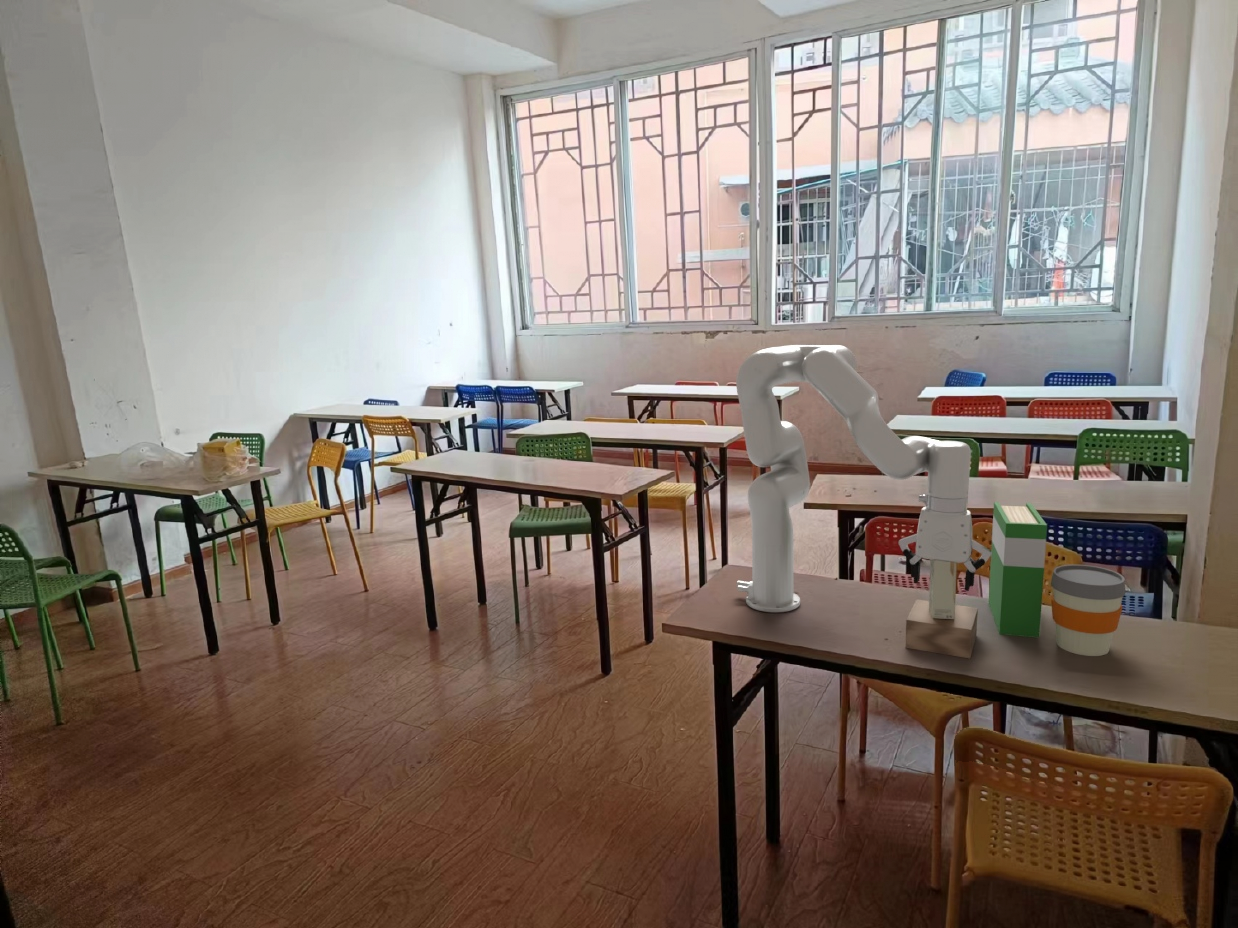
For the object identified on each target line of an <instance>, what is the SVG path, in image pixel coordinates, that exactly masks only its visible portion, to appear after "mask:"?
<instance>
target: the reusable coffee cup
mask: <svg viewBox="0 0 1238 928" xmlns="http://www.w3.org/2000/svg"><path fill="white" fill-rule="evenodd" d="M1050 587H1052V595H1051V597H1050V601H1051V614H1052V617H1051V618H1052V620H1053V622H1054V624H1055V636H1056V637H1055V638H1056V644H1057V646H1058V647H1059V648H1061V649H1063V650H1064V651H1067V652H1069V653H1073V654H1076V655H1080V656H1085V657H1099V656H1103V655H1107V654H1108V653H1109V651H1110V649H1111V644H1112V640H1113V637H1114V636H1113V635H1114V632H1115V631H1117V629H1118V626H1119V624H1120V619H1121V614H1122V610H1123V605H1122V601H1123V598H1124V596H1125V595H1126V579H1125V577H1124V576H1123V575H1122V574H1121V573H1119V572H1118V571H1114V570H1111V569H1108V568H1104V567H1101V566H1100V567H1099V566H1095V565H1088V564H1064V565H1063V564H1062V565H1059V566H1056V567H1055V568H1053V571H1052V575H1051V580H1050Z"/></svg>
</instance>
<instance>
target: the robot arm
mask: <svg viewBox="0 0 1238 928" xmlns="http://www.w3.org/2000/svg"><path fill="white" fill-rule="evenodd" d="M857 367H858V361H857V357H856V356H855V354H854V352H852V351H851V349H850V348H848V347H846V346H844V345H840V344H832V345H830V344H829V345H828V344H827V345H825V344H823V345H819V344H818V345H817V344H816V345H814V344H812V345H811V344H810V345H808V344H807V345H806V344H793V345H792V344H789V345H782V346H780V345H779V346H772V347H768V348H763V349H760V350H758V351H755V352H754V353H752V354H750V355H749V356H748V357H747V358H746V359H744V361H743V362H742V363H741V365H740V366H739V368H738V371H737V373H736V380H735V382H736V383H735V386H736V394H737V397H738V398H737V399H738V402H739V407H740V411H741V421H742V428H743V434H744V442H745V446H746V447H745V448H746V453H747V457H748V459H749V460H750V462H751V463H752V464H753V465H755V466H757V467H759V468H768V467H770V471H767V472H765V473H763V474H760V475H759V476H757V477H756V478H755V479H754V480H753V481H752V482H751V483H750V485H749V488H748V491H747V504H748V508H749V514H750V520H751V523H750V525H751V553H752V554H751V558H752V559H751V561H752V564H751V566H752V571H751V572H752V575H751V576H752V580H750V581H745V580H741V579H740V580H739V579H738V580H737V581H736V588H737V591H738V592H743V593H747V595H746V597H745V603H746V605H747V606H748V607H750V608H752V609H754V610H756V611H760V612H765V613H785V612H786V613H787V612H790V611H793V610H795V609H798V607H799V606H800V605H801V598H800V596H799V595H798V594H796V593H795V592H794V555H795V554H794V553H795V551H794V524H793V521H792V518H791V513H790V508H792V507H794V506H796V505H798V504H800V503H802V501H804V500H805V499H806V498H807V496H808V495H809V491H810V487H811V486H810V485H811V484H810V483H811V481H810V480H811V479H810V473H809V466H808V459H807V452H806V447H805V446H806V445H805V441H804V437H803V435H802V433H801V431H800V429H798V427H797V426H796V425H795V424H793V423H792V422H789V421H787V420H781V416H780V408H779V404H778V400H777V397H776V396H775V394H774V392H773V388H774V387H777V386H779V385H786V384H790V383H791V384H792V383H809V384H810V385H811V386H812V387H813V389H814V390H816V392H817V393H818V394H819V395H821V396H822V398H824V400H826V402H827V403H828V404H829V405H831V407H832V408H833V409H834V410H835V411H836V412H837V413H838V414H839V415H840V416H841V417H842V418H843V420H844V421H845V423H846V425H847V428H848V430H849V432H850V434H851V436H852V438H853V439H854V442H855V444H856V445H857V447H858V448H859V449H860V451H861V452H862V453H863V455H865V456H866V458H867V459H868V460H869V461H870V462H871V463H872V464H873V465H874V466H875V467H876V468H877V470H879V471H880V472H881V473H883V474H884V475H886V476H887V477H889V478H891V479H893V480H898V481H904V480H908V479H910V478H912V477H914V476H916V475H917V474H920V473H925V472H926V473H927V482H926V483H927V484H926V487H927V488H926V493H925V494H921V495H920V494H919V495H918V502H921V503H923V504H924V505H925V506H923V507H922V508H921V510H920V513H919V514H920V515H919V518H918V525H917V531H916V533H914V534H912V535H909V536H906V537H903V538H901V539H899V540H898V543H897V544H898V546H899V547H900V550H901V551H902V554H903V556H904V557H905V558H906V559H907V560H908V561H909V563H910V565H911V566H910V567H911V569H910V578H913V584H918V583H919V581H920V577H921V559H923V560H924V559H925V560H930V559H931V560H942V561H948V562H954V563H957V564H963V565H964V566H965V568H966V571H965V578H964V579H965V581H964V590H965V591H966V592H969V590H970V588H971V587H974V586H975V585H974V583H975V572H976V571H977V570H979V569H981V567H983V566H984V565H985V564H986V563H987V561H988V560H989V559H990V558H991V553H992V551H991V549H989V548H988V547H986V546H984V545H983V544H982V543H979V542H978V541H976V540H974V539H973V522H972V521H973V520H972V519H973V518H972V515H971V510H968V502H969V501H968V500H969V485H970V472H971V471H970V470H971V457H972V452H971V451H972V450H971V448H970V445H969V444H968V443H965V442H963V441H957V440H938V439H932V438H929V437H925V436H920V435H909V436H905V437H904V438H902V439H901V438H900V437H899V436H898V435H897V434H896V433H895V432H894V430H892V428H890V427H889V425H888V424H887V423H886V421H885V420H884V418H883V417H882V414H881V412H880V407H879V403H880V402H879V401H880V400H879V394H878V392H877V391H876V389H875V388H874V387H873V386H871V384H870V383H868V382H867V381H866V380H865V379H864V378H863V377H862V375H860V374H859V373H858V372H857ZM913 543H915V553H914V552H913V551H912V550H911V549H910V548H909V545H910V544H913ZM973 550H975V551H977V552H978V553H980V554H981V556H980V557H979V558H978V559H976V560H974V559H973V558H972V556H971V555H972V552H973Z"/></svg>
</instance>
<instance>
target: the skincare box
mask: <svg viewBox="0 0 1238 928" xmlns="http://www.w3.org/2000/svg"><path fill="white" fill-rule="evenodd" d="M929 560H930V561H929V562H930V563H929V592H928V601H929V610H930V613H931V616H932V618H940V619H955V605H956V592H957V591H956V590H957V567H958V566H957V565H958V563H954V562H948V561H942V560H931V559H929Z"/></svg>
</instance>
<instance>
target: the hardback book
mask: <svg viewBox="0 0 1238 928" xmlns="http://www.w3.org/2000/svg"><path fill="white" fill-rule="evenodd" d="M992 517H993V519H992V531H991V549H990V550H991V551H992V553H991V556H990V570H989V584H988V585H989V588H988V602H989V603H988V606H989V609H990V612H991V614H992V617H993V620H994V622H995V626H996V628H997V632H998V634H999V635H1007V636H1018V637H1031V638H1040V633H1041V617H1042V616H1041V615H1042V605H1043V603H1042V602H1043V590H1044V589H1043V588H1044V576H1045V575H1044V574H1045V561H1046V560H1045V559H1046V549H1047V548H1046V547H1047V533H1048V532H1047V531H1048V523H1046V521H1045V520H1044V519H1043V518H1042V516H1041V515H1040V513H1039V512H1038V511H1037V509H1036V508H1035V506H1034V505H1033V503H1032V502H1026V503H1025V506H1023V505H1022V506H1021V505H1019V506H1017V505H1015V506H1014V505H1001V503H1000V502H999V501H994V502H993V515H992Z"/></svg>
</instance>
